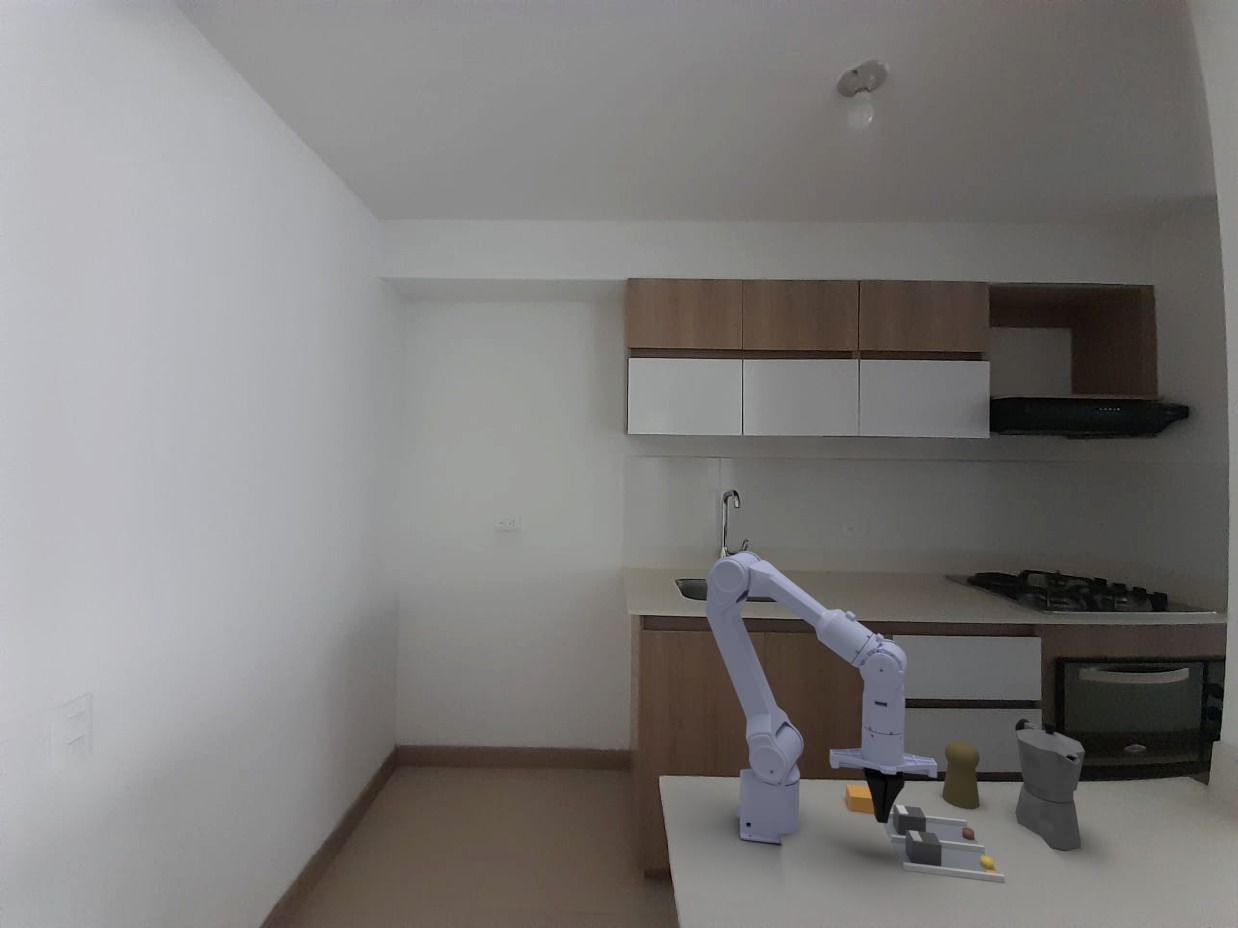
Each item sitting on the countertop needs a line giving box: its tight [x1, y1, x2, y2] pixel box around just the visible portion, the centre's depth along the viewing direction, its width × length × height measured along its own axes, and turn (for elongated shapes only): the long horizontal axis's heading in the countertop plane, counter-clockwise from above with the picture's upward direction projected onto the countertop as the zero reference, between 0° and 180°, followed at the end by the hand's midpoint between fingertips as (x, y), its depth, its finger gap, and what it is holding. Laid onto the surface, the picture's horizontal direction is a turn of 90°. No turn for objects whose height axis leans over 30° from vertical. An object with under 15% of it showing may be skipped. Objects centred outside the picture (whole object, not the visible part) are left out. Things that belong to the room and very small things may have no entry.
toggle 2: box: [905, 830, 942, 866], centre depth 92 cm, size 4×3×3 cm
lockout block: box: [845, 783, 874, 815], centre depth 106 cm, size 4×4×4 cm
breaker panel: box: [882, 811, 1006, 884], centre depth 95 cm, size 13×14×2 cm
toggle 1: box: [892, 804, 926, 835], centre depth 99 cm, size 4×3×3 cm
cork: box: [941, 740, 981, 810], centre depth 108 cm, size 6×6×11 cm
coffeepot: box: [1014, 718, 1086, 851], centre depth 103 cm, size 15×9×18 cm, turn 176°
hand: (880, 819), depth 93 cm, fingers closed
